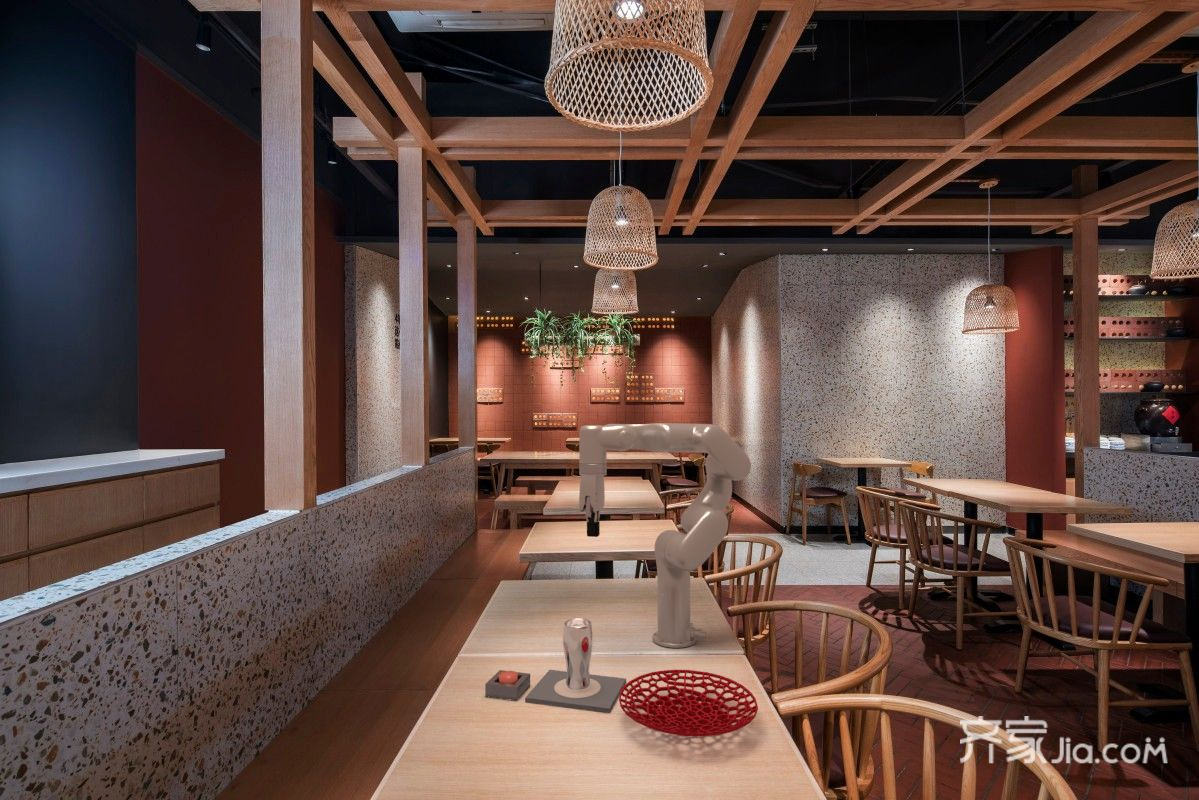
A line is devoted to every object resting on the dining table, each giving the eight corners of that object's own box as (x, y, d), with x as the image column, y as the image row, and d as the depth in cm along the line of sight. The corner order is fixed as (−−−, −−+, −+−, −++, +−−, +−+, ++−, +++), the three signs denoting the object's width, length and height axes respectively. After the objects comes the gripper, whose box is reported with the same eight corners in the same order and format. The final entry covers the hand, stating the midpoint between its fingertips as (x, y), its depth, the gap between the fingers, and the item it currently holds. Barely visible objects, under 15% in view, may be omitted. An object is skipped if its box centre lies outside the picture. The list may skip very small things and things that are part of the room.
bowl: (667, 776, 113) (667, 748, 114) (595, 707, 140) (595, 685, 140) (788, 737, 127) (788, 712, 127) (701, 681, 153) (701, 660, 153)
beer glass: (589, 694, 143) (588, 628, 144) (559, 691, 145) (559, 626, 145) (595, 681, 150) (595, 619, 151) (567, 679, 152) (567, 617, 152)
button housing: (530, 686, 151) (530, 673, 151) (517, 700, 143) (517, 687, 143) (499, 682, 153) (499, 670, 153) (485, 696, 145) (485, 683, 145)
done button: (520, 684, 149) (520, 671, 149) (513, 692, 145) (513, 679, 145) (503, 682, 150) (503, 669, 151) (495, 690, 146) (495, 677, 146)
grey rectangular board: (626, 682, 152) (626, 677, 152) (609, 713, 137) (609, 707, 137) (549, 673, 158) (549, 668, 158) (525, 702, 142) (525, 696, 142)
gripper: (587, 467, 180) (588, 530, 180) (571, 471, 166) (571, 540, 166) (612, 467, 178) (613, 531, 178) (598, 472, 164) (598, 542, 164)
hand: (593, 535), depth 172 cm, fingers closed
